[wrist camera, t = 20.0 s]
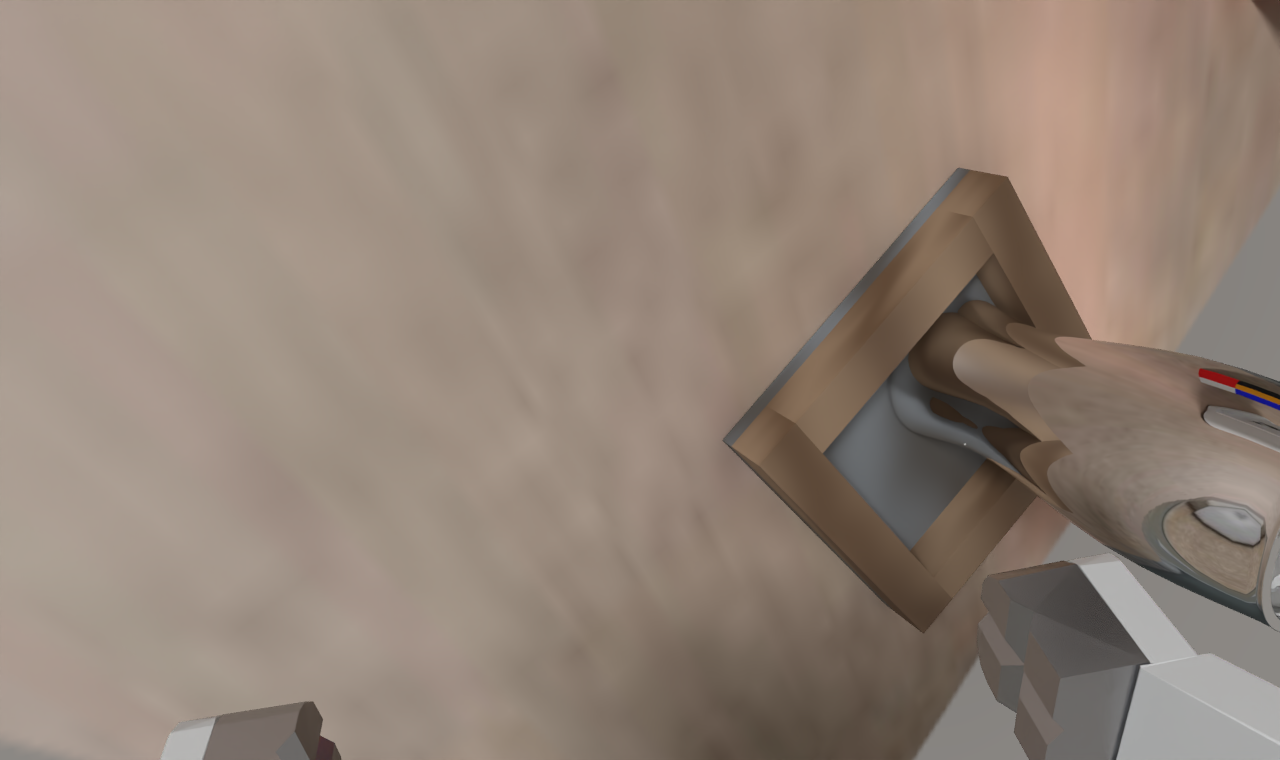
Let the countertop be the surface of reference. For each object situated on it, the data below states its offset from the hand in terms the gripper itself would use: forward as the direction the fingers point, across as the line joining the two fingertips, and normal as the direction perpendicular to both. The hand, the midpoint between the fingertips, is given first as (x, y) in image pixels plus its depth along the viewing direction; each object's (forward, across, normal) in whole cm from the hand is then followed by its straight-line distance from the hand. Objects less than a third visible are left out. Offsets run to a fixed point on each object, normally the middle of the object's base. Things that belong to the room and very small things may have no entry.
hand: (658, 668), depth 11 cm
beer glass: (+24, -14, +13) cm, 30 cm away
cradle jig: (+23, -13, +15) cm, 30 cm away
